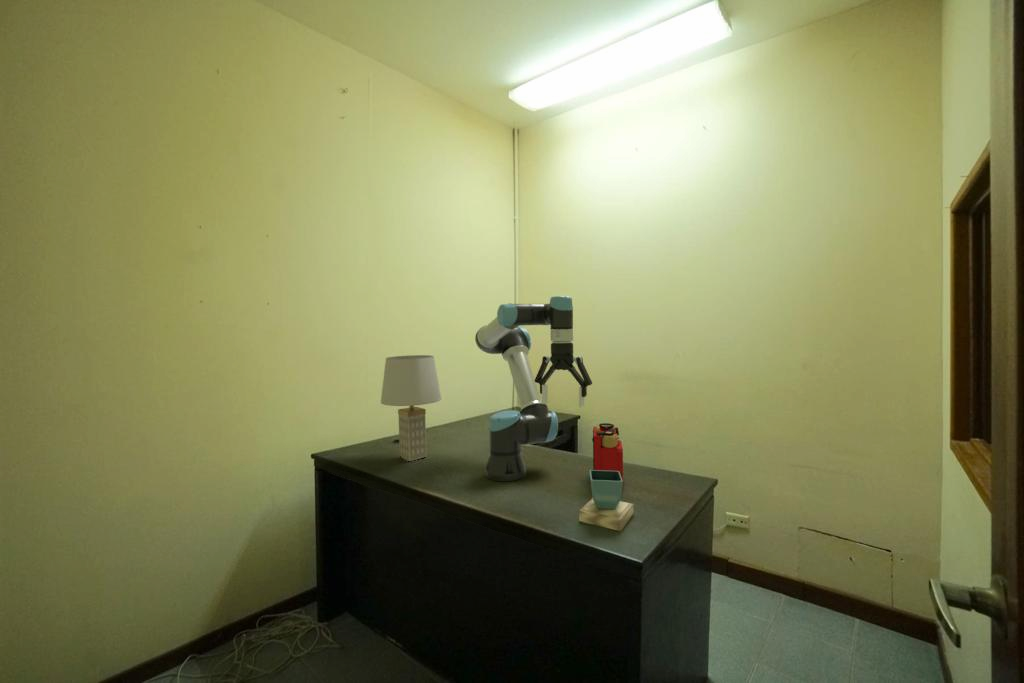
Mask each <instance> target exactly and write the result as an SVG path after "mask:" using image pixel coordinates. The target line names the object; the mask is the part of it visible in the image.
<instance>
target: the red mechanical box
mask: <svg viewBox="0 0 1024 683" xmlns="http://www.w3.org/2000/svg"><path fill="white" fill-rule="evenodd" d="M619 439H620V430H619V427H617V426H615V424H613V423H609V422H607V423H605V422H603V423H602V422H601V423H599V424H598V425H595V426H593V430H592V438H591V440H592V455H593V456H592V460H593V461H592V463H593V468H592V470H604V471H619V472H620V475H621V478H622V480H623V481H624V450H623V448H624V447H623V445H622V444H623V443H622V440H619Z"/></svg>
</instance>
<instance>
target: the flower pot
mask: <svg viewBox="0 0 1024 683" xmlns="http://www.w3.org/2000/svg"><path fill="white" fill-rule="evenodd" d="M589 479H590V487H591V495H592V498H593V500H594V503H595V505H596V507H597V508H600V509H616V507H617V506H618V504H619V502H620V501H621V499H622V492H623V485H624V479H623V480H622V478H621V475H620V472H619V471H604V470H593V469H590V470H589Z"/></svg>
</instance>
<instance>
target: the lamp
mask: <svg viewBox="0 0 1024 683" xmlns="http://www.w3.org/2000/svg"><path fill="white" fill-rule="evenodd" d="M382 379H383V380H382V388H381V396H380V404H381V405H384V406H389V407H390V406H391V407H403V408H398V409H397V414H398V441H399V457H400V456H401V457H403V458H405V459H407V460H413V459H418V458H422V457H426V458H427V431H426V430H427V428H426V427H427V426H426V424H427V423H426V414H427V413H426V408H423V407H420V406H421V405H424V406H425V405H429V404H430V405H431V404H434V403H438V402H441V400H442V395H441V390H440V384H439V378H438V374H437V367H436V361H435V356H434V355H431V354H427V355H426V354H419V355H418V354H415V355H410V354H409V355H395V356H387V357H385V363H384V372H383V378H382ZM405 406H406V407H405ZM418 406H419V407H418Z"/></svg>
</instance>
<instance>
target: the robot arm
mask: <svg viewBox="0 0 1024 683" xmlns="http://www.w3.org/2000/svg"><path fill="white" fill-rule="evenodd" d="M523 326H550V342H551V343H550V356H548V355H545V356H542V358H541V362H542V363H540V364H541V365H540V367H539V369H538V371H537V374H536V376H534V374H533V371H532V366H531V365H530V361H529V358H528V355H529V352H530V350H531V346H532V342H531V336H530V334H529V333H530V332H528V329H526V328H525V327H523ZM573 326H574V307H573V298H572V297H571V296H570V295H556V296H555V295H554V296H551V297H550V300H549V303H504V304H503V303H502V304H500V305H499V306H498V309H497V313H496V317H495V318H494V319H492V321H490V322H489V323H488V324H487V325H483V326H481V327H480V328H479V329H478V330H477V331H476V333H475V337H474V339H475V344H476V345H477V348H478V349H480V350H481V351H482V352H484V353H486V354H490V355H500V354H501V355H502V358H503V360H504V361H506V362H507V364H508V367H509V371H510V374H511V378H512V380H513V385H514V387H515V392H516V394H517V398H518V401H519V405H520V410H517V409H516V410H515V409H513V410H512V409H511V410H503V411H498V412H496V413H494V414H492V415H491V416H490V417H489V426H488V431H489V432H488V433H489V456H488V461H487V464H486V467H485V476H486V478H488V479H489V480H491V481H495V482H512V481H513V482H514V481H517V480H518V481H519V480H521V479H523V478H525V477H526V475H527V469H526V465H525V462H524V459H523V455H522V452H521V451H522V449H521V448H522V446H525V445H535V444H545V443H547V442H552V441H554V440H555V439H556V437H557V435H558V432H559V420H558V416H557V413H556V412H555V411H554V410H549V407H548V405H547V404H548V403H549V402H548V400H549V398H548V396H549V395H548V383H547V382H548V380H549V379H550V378H551V376H552V375H553V374H554V372H555V371H556V370H557V371H560V370H562V371H566V370H567V372H569V373H570V374H571V376H572V377H573V378H574V379H575V380H576V382H577V383H578V385H579V387H578V408H583V407H585V397H587V395H588V394H587V392H588V391H587V389H588V387H589V386H592V385H593V380H592V379H591V377H590V375H589V373H588V370H587V369H586V367H585V365H584V361H583V357H582V356H576V357H574V343H573V341H574V328H573ZM574 362H575V364H576V366H577V368H578V370H579V371H578V370H577V369H576V367H575V365H574ZM549 363H551V366H549V368H548V370H547V371H546V369H547V367H548V365H549ZM545 372H546V373H545ZM537 384H539V389H538V385H537ZM540 395H541V396H540Z"/></svg>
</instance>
